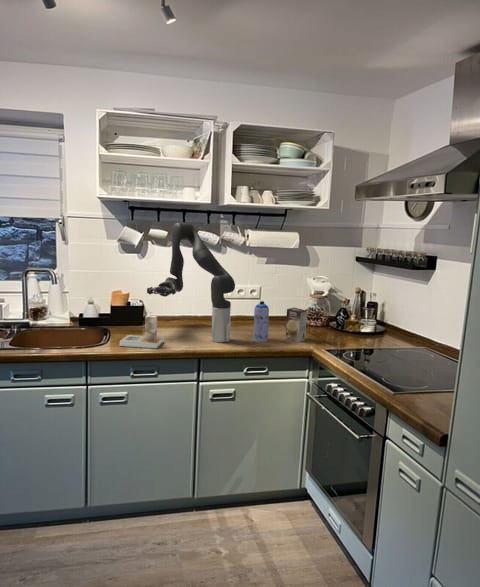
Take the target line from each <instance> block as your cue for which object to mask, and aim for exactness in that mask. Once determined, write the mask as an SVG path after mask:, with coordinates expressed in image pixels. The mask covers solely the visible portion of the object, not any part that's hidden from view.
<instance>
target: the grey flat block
mask: <svg viewBox="0 0 480 587" xmlns="http://www.w3.org/2000/svg"><path fill="white" fill-rule="evenodd" d="M164 338H165V337H164V336H157V340H156V341H148V340H145V335H139V334H138V335H135V334H128V335H126V336H124V337H123V338H121V340H119V347H126V348H127V347H129V348H140V347H141V348H142V349H145V348H146V349H158V348H159V347H160V346H161V345H162V344H163V343H164ZM141 348H140V349H141Z"/></svg>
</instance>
